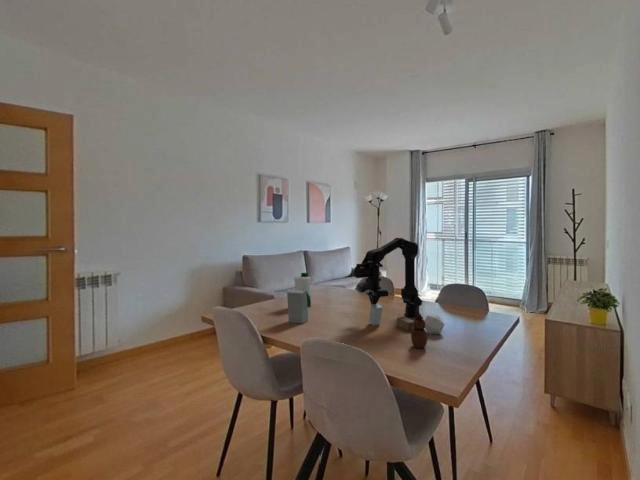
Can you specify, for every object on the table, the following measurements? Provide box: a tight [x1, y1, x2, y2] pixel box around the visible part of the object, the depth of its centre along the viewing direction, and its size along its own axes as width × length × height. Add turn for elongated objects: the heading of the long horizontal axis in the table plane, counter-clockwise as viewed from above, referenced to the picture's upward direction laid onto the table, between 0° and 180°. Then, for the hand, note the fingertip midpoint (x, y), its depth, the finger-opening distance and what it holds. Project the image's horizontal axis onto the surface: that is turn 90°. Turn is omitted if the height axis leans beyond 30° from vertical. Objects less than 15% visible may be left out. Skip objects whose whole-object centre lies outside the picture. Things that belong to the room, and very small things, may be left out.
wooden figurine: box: [410, 309, 428, 349], centre depth 137 cm, size 7×6×15 cm
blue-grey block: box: [368, 303, 383, 327], centre depth 168 cm, size 4×4×10 cm
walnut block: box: [396, 316, 414, 332], centre depth 163 cm, size 4×4×10 cm
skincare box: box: [286, 289, 309, 324], centre depth 174 cm, size 8×7×16 cm
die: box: [424, 315, 445, 335], centre depth 155 cm, size 8×9×10 cm
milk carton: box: [293, 272, 312, 308], centre depth 205 cm, size 9×9×20 cm
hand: (373, 307), depth 170 cm, fingers closed
